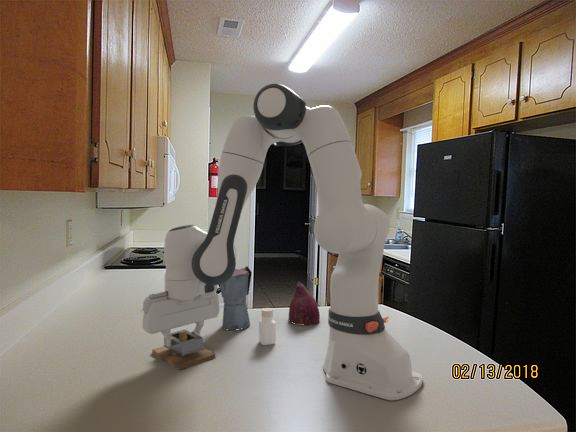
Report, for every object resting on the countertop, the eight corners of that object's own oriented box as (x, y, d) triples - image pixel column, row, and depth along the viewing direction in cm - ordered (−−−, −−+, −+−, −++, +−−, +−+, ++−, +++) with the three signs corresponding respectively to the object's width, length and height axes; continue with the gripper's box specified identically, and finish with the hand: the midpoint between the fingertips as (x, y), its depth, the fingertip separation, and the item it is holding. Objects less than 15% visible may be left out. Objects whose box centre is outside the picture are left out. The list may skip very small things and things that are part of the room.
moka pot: (208, 330, 117) (208, 265, 116) (238, 316, 130) (237, 259, 130) (234, 335, 112) (233, 268, 112) (261, 321, 126) (261, 261, 125)
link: (203, 349, 97) (203, 337, 97) (182, 356, 93) (181, 344, 92) (184, 340, 103) (184, 329, 103) (164, 346, 99) (164, 335, 99)
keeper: (215, 357, 97) (215, 334, 96) (179, 370, 90) (179, 344, 89) (186, 343, 106) (186, 321, 106) (152, 353, 99) (151, 330, 99)
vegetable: (303, 337, 120) (298, 295, 116) (283, 324, 128) (277, 284, 123) (327, 322, 126) (323, 282, 122) (306, 311, 134) (301, 273, 130)
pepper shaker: (271, 339, 109) (271, 306, 109) (276, 344, 105) (276, 310, 105) (258, 341, 108) (258, 308, 107) (262, 346, 104) (262, 312, 104)
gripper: (149, 298, 88) (150, 357, 88) (222, 284, 102) (222, 334, 103) (137, 293, 92) (138, 349, 93) (209, 280, 107) (209, 329, 107)
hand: (183, 341), depth 98 cm, fingers closed on link, 6 cm apart
